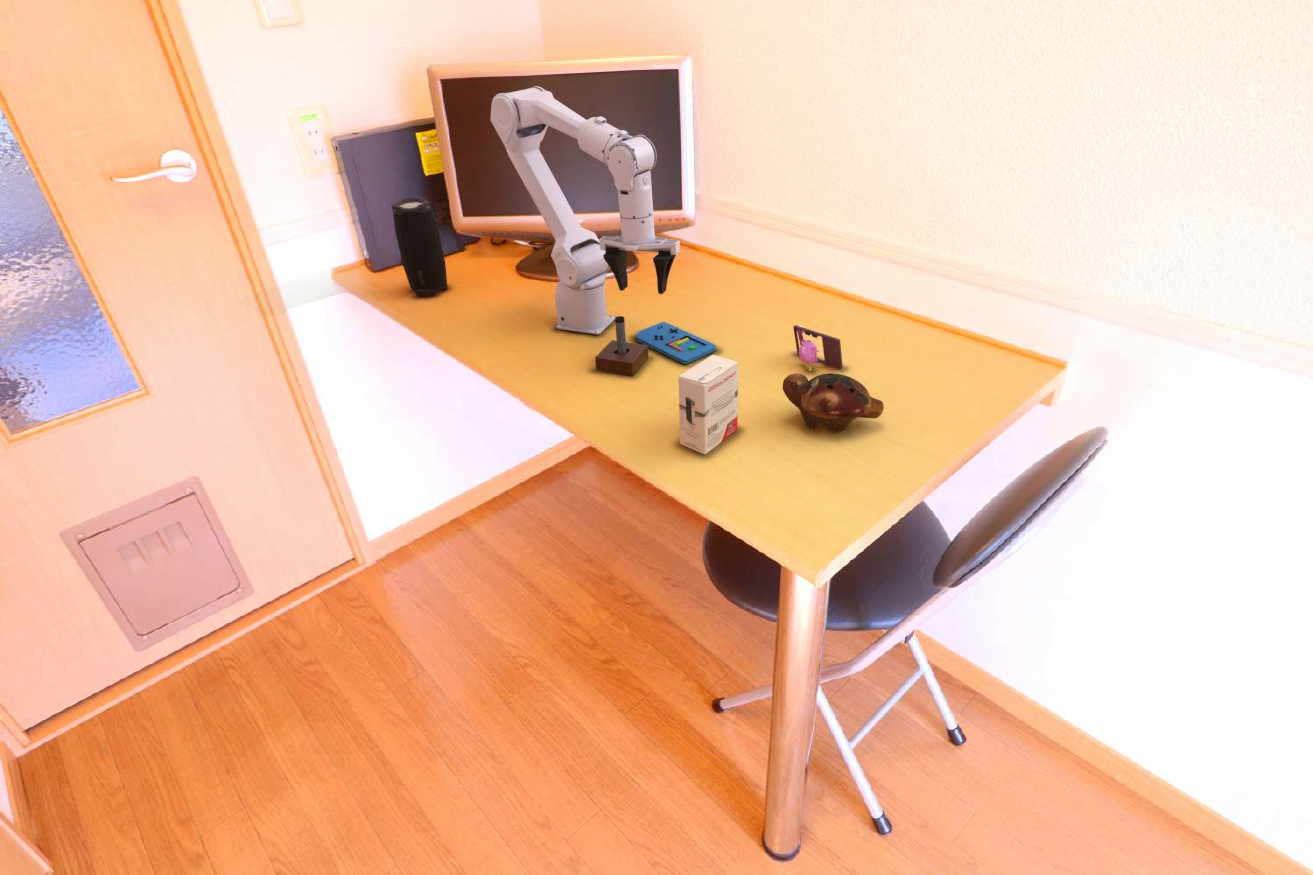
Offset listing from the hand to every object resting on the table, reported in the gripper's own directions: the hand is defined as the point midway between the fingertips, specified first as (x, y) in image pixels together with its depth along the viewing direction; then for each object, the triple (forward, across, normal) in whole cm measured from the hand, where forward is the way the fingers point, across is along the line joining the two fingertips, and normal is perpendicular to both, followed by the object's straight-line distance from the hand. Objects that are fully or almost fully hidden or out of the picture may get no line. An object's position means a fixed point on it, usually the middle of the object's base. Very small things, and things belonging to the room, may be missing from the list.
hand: (642, 290), depth 129 cm
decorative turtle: (+12, +37, -16) cm, 42 cm away
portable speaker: (+8, -56, +8) cm, 57 cm away
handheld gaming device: (+11, +5, +1) cm, 12 cm away
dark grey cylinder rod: (+10, -1, -9) cm, 14 cm away
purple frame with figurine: (+12, +31, +1) cm, 33 cm away
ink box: (+12, +21, -26) cm, 36 cm away
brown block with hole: (+10, -1, -9) cm, 14 cm away
